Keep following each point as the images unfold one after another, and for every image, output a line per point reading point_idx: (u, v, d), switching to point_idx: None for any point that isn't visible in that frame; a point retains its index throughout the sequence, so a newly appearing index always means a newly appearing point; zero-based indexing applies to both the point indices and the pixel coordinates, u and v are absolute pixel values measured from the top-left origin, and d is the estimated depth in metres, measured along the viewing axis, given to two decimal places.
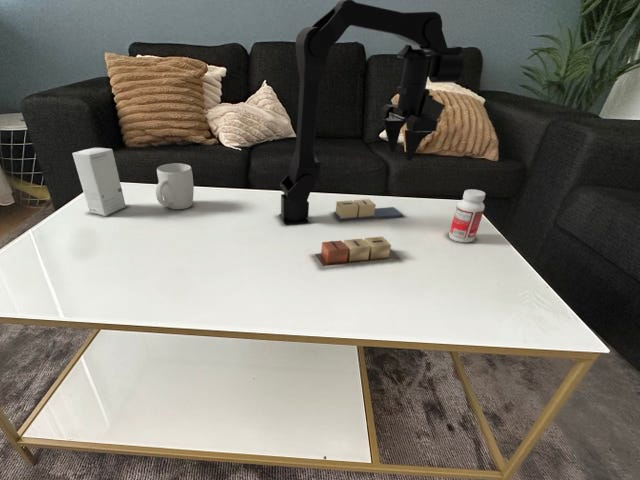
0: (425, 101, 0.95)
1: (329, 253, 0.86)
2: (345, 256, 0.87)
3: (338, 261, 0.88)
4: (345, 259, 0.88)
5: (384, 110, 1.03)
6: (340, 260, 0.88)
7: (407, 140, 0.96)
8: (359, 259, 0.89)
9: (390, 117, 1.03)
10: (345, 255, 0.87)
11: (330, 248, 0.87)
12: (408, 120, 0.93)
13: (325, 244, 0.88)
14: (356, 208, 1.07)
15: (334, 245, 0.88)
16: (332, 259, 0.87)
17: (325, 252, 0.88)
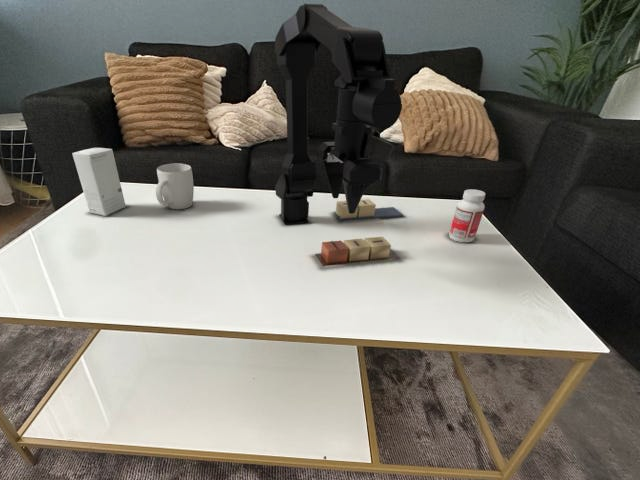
0: (367, 142, 0.74)
1: (329, 253, 0.86)
2: (345, 256, 0.87)
3: (338, 261, 0.88)
4: (345, 259, 0.88)
5: (321, 149, 0.82)
6: (340, 260, 0.88)
7: (346, 190, 0.76)
8: (359, 259, 0.89)
9: (329, 158, 0.82)
10: (345, 255, 0.87)
11: (330, 248, 0.87)
12: (345, 167, 0.73)
13: (325, 244, 0.88)
14: None
15: (334, 245, 0.88)
16: (332, 259, 0.87)
17: (325, 252, 0.88)
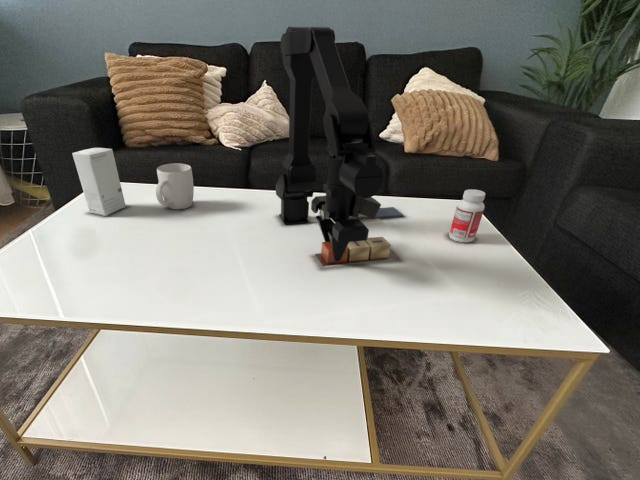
0: (355, 202, 0.80)
1: (329, 253, 0.86)
2: (345, 256, 0.87)
3: (338, 261, 0.88)
4: (345, 259, 0.88)
5: (314, 204, 0.88)
6: (340, 260, 0.88)
7: (332, 242, 0.83)
8: (359, 259, 0.89)
9: (324, 215, 0.86)
10: (345, 255, 0.87)
11: (329, 248, 0.87)
12: (334, 227, 0.78)
13: (325, 244, 0.88)
14: None
15: None
16: (332, 259, 0.87)
17: (324, 252, 0.88)
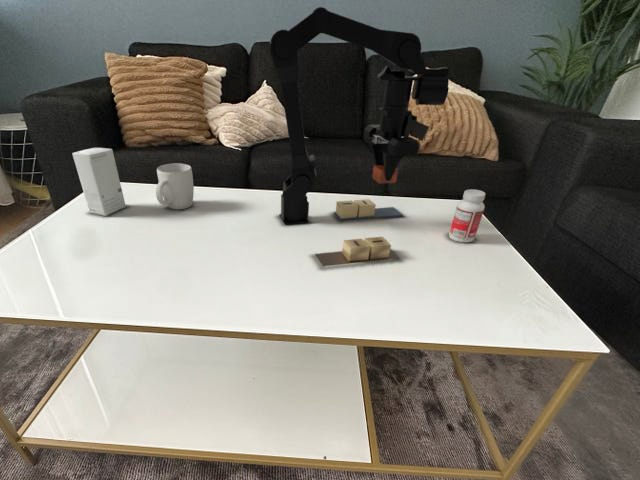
0: (407, 123, 0.91)
1: (381, 173, 0.98)
2: (395, 177, 0.99)
3: (388, 181, 0.99)
4: (395, 180, 0.99)
5: (367, 131, 0.99)
6: (390, 180, 0.99)
7: (385, 161, 0.94)
8: (359, 259, 0.89)
9: (377, 140, 0.98)
10: (395, 175, 0.99)
11: (381, 169, 0.98)
12: (389, 143, 0.90)
13: (377, 166, 1.00)
14: (356, 208, 1.07)
15: None
16: (383, 179, 0.99)
17: (376, 173, 0.99)
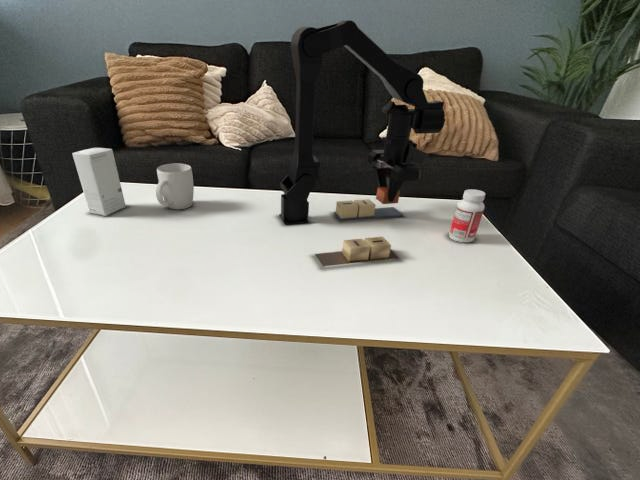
0: (409, 151, 1.00)
1: (384, 195, 1.07)
2: (397, 198, 1.08)
3: (391, 202, 1.08)
4: (397, 200, 1.08)
5: (371, 156, 1.08)
6: (393, 201, 1.08)
7: (388, 184, 1.03)
8: (359, 259, 0.89)
9: (380, 165, 1.07)
10: (397, 197, 1.08)
11: (385, 191, 1.07)
12: (393, 170, 0.99)
13: (380, 188, 1.09)
14: (356, 208, 1.07)
15: None
16: (387, 200, 1.08)
17: (380, 194, 1.08)
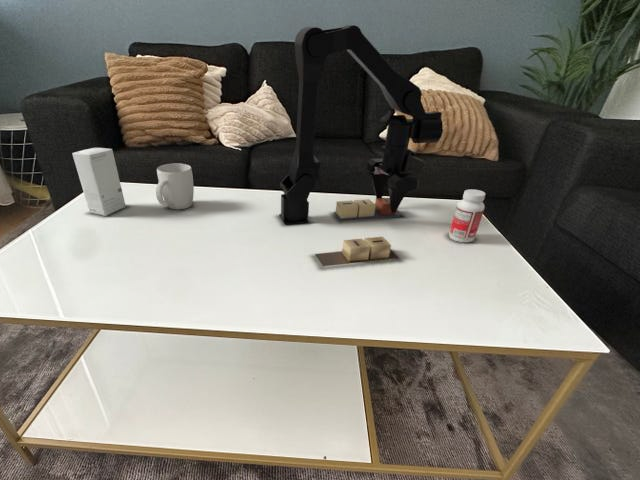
0: (407, 160, 1.02)
1: (383, 206, 1.08)
2: None
3: (389, 213, 1.10)
4: None
5: (370, 164, 1.10)
6: (391, 212, 1.10)
7: (391, 196, 1.03)
8: (359, 259, 0.89)
9: (376, 171, 1.10)
10: None
11: (383, 202, 1.09)
12: (391, 179, 1.00)
13: (379, 200, 1.10)
14: (356, 208, 1.07)
15: (386, 200, 1.10)
16: (385, 211, 1.10)
17: (378, 206, 1.10)
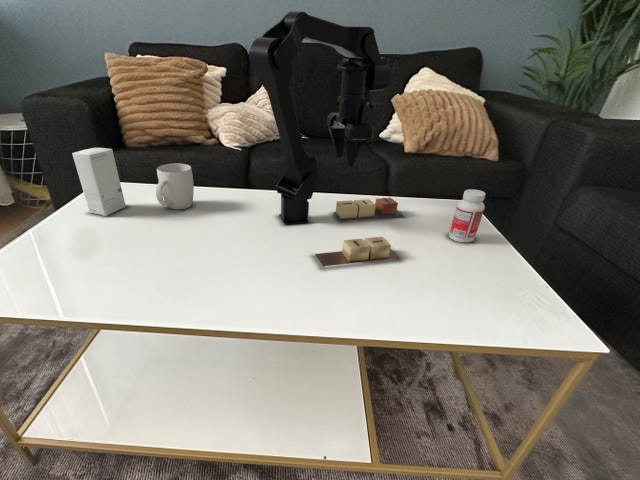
0: (363, 110, 0.99)
1: (383, 206, 1.08)
2: (395, 209, 1.10)
3: (389, 213, 1.10)
4: (395, 211, 1.10)
5: (329, 118, 1.07)
6: (391, 212, 1.10)
7: (346, 147, 1.01)
8: (359, 259, 0.89)
9: (335, 125, 1.07)
10: (395, 208, 1.10)
11: (383, 202, 1.09)
12: (345, 128, 0.98)
13: (379, 200, 1.10)
14: (356, 208, 1.07)
15: (386, 200, 1.10)
16: (385, 211, 1.10)
17: (378, 206, 1.10)
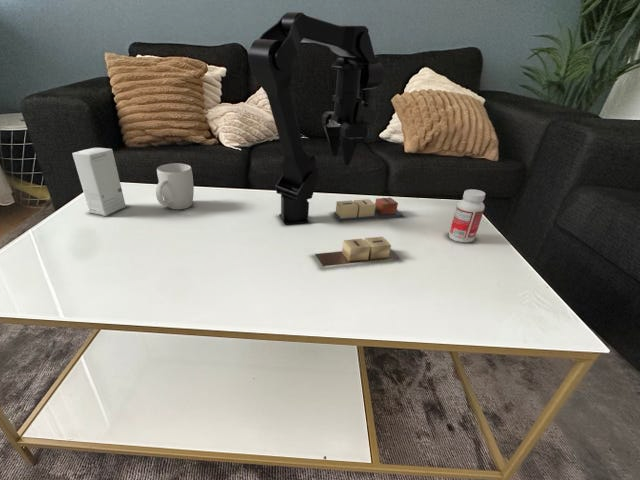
0: (358, 109, 1.00)
1: (383, 206, 1.08)
2: (395, 209, 1.10)
3: (389, 213, 1.10)
4: (395, 211, 1.10)
5: (324, 117, 1.08)
6: (391, 212, 1.10)
7: (342, 146, 1.01)
8: (359, 259, 0.89)
9: (330, 123, 1.08)
10: (395, 208, 1.10)
11: (383, 202, 1.09)
12: (341, 127, 0.98)
13: (379, 200, 1.10)
14: (356, 208, 1.07)
15: (386, 200, 1.10)
16: (385, 211, 1.10)
17: (378, 206, 1.10)
